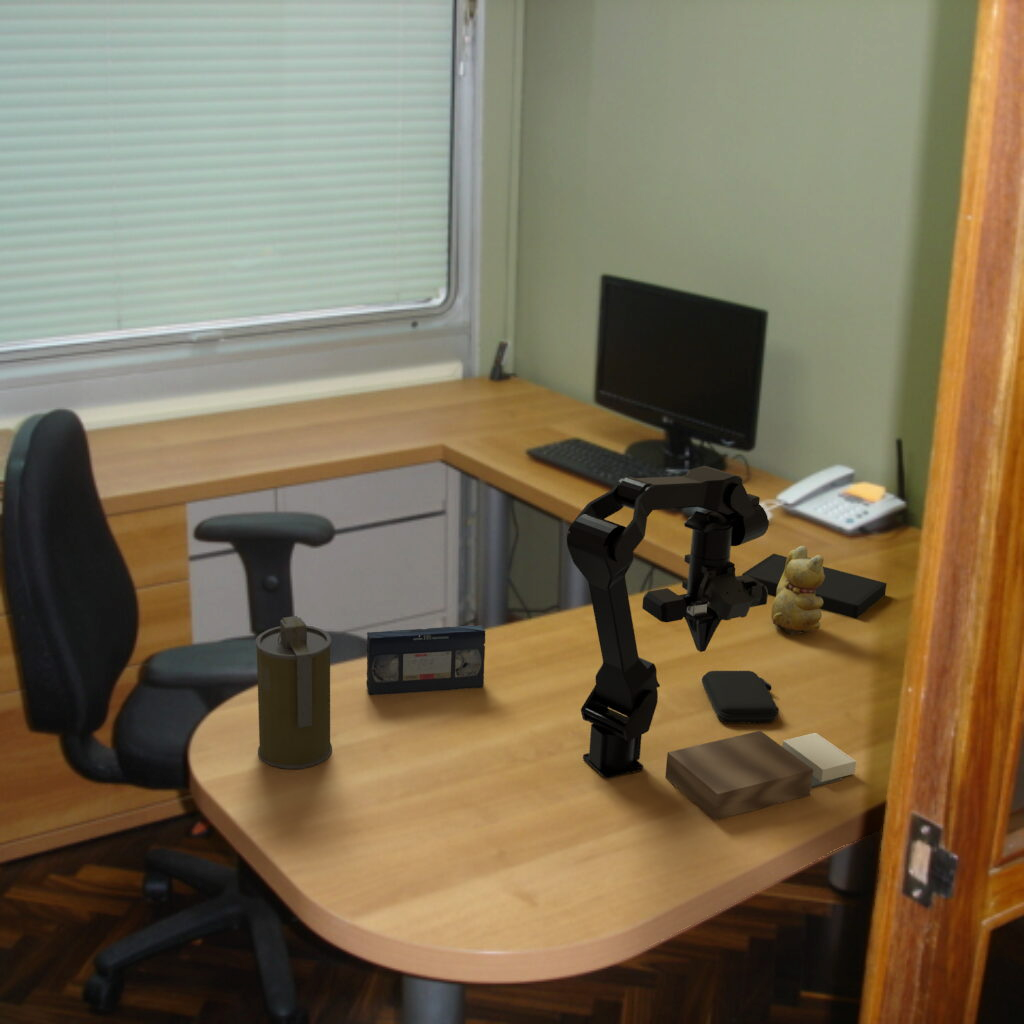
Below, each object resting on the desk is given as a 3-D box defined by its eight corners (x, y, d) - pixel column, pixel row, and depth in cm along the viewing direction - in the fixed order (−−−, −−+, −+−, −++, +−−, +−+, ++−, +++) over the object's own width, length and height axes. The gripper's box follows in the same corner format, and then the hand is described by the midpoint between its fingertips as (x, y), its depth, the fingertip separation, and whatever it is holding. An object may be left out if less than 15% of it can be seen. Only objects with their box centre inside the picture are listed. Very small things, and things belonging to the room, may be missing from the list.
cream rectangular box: (856, 761, 195) (854, 773, 195) (815, 732, 202) (814, 744, 203) (823, 769, 192) (821, 782, 193) (783, 740, 200) (781, 752, 200)
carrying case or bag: (787, 727, 209) (763, 683, 223) (789, 709, 208) (765, 666, 222) (718, 728, 208) (698, 683, 222) (720, 710, 207) (700, 666, 221)
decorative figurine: (828, 634, 241) (839, 554, 236) (795, 644, 237) (805, 563, 232) (789, 614, 249) (798, 537, 244) (756, 623, 244) (764, 545, 239)
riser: (714, 820, 183) (717, 794, 182) (665, 777, 193) (667, 752, 192) (810, 795, 190) (813, 769, 189) (757, 754, 200) (760, 730, 199)
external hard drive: (856, 620, 248) (858, 605, 247) (740, 588, 261) (741, 573, 260) (884, 597, 260) (886, 582, 259) (772, 567, 272) (773, 553, 271)
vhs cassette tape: (367, 696, 212) (368, 638, 209) (365, 687, 215) (366, 629, 212) (484, 689, 216) (486, 632, 213) (481, 681, 219) (483, 624, 216)
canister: (250, 739, 198) (247, 612, 191) (320, 728, 202) (319, 603, 195) (268, 776, 189) (265, 644, 182) (341, 763, 193) (341, 634, 186)
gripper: (687, 582, 188) (678, 684, 194) (796, 563, 197) (784, 662, 202) (644, 554, 198) (636, 652, 203) (749, 537, 206) (739, 632, 211)
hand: (700, 650), depth 205 cm, fingers closed
